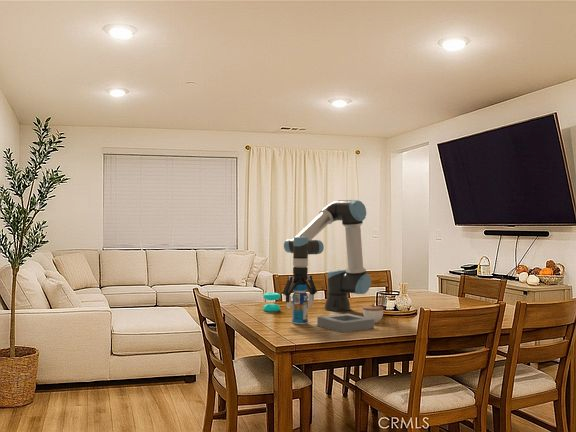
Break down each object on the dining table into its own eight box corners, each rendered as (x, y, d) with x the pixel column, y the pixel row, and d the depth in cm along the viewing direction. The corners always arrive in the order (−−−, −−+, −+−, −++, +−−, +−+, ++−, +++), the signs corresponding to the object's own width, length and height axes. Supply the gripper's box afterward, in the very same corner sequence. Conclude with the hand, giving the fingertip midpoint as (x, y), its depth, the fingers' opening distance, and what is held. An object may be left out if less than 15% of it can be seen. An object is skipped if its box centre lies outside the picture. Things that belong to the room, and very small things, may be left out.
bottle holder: (348, 322, 316) (348, 313, 316) (374, 328, 299) (374, 319, 299) (317, 325, 304) (317, 316, 304) (342, 332, 288) (342, 323, 288)
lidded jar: (384, 320, 321) (385, 303, 321) (381, 324, 310) (381, 306, 310) (365, 319, 324) (365, 302, 324) (360, 322, 314) (360, 304, 314)
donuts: (283, 293, 350) (269, 295, 344) (283, 311, 350) (269, 312, 344) (273, 291, 358) (259, 293, 352) (273, 308, 358) (259, 310, 352)
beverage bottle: (289, 322, 314) (289, 283, 314) (303, 321, 317) (304, 283, 317) (295, 325, 306) (296, 285, 306) (310, 323, 309) (311, 284, 309)
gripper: (315, 265, 322) (314, 305, 322) (276, 266, 308) (275, 308, 308) (324, 266, 315) (323, 306, 315) (284, 267, 301) (283, 310, 301)
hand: (299, 307), depth 311 cm, fingers open, 13 cm apart
